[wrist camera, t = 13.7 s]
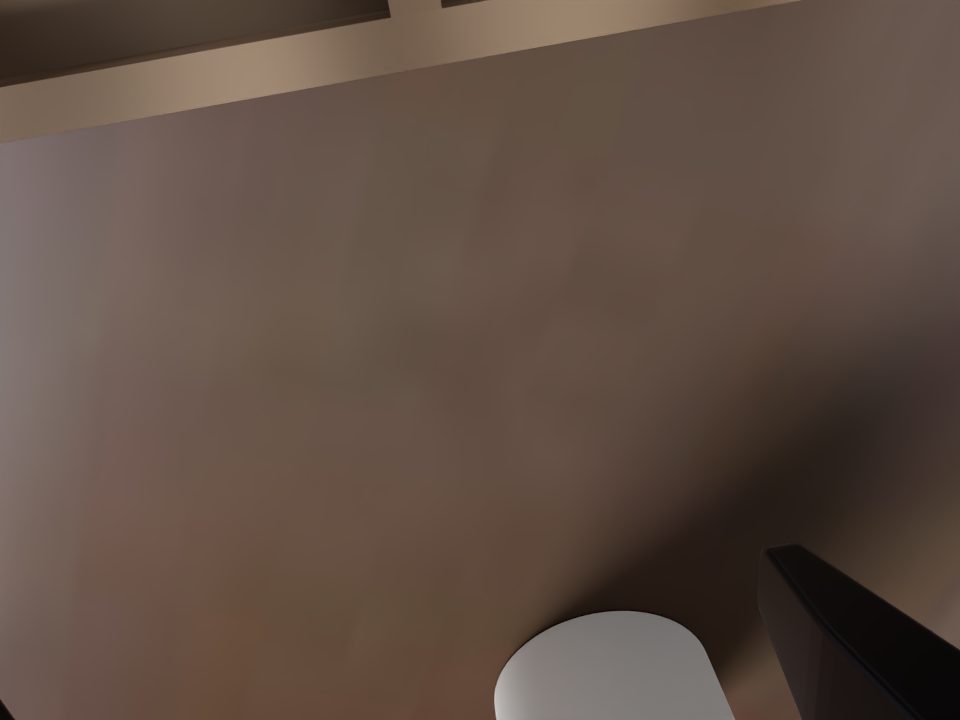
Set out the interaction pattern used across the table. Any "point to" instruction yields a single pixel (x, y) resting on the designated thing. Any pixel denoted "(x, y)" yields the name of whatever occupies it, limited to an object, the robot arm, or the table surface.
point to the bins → (267, 47)
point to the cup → (611, 673)
